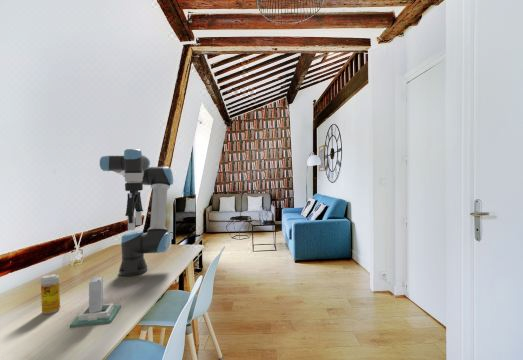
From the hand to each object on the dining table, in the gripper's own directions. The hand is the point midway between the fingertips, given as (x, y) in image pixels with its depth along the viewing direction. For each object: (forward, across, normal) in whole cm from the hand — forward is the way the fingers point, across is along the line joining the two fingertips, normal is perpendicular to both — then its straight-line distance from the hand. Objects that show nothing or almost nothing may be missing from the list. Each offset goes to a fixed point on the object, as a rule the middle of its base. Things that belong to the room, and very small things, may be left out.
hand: (135, 227), depth 129 cm
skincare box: (+29, +18, -11) cm, 36 cm away
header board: (+32, +18, -11) cm, 38 cm away
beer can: (+32, +8, -32) cm, 46 cm away
